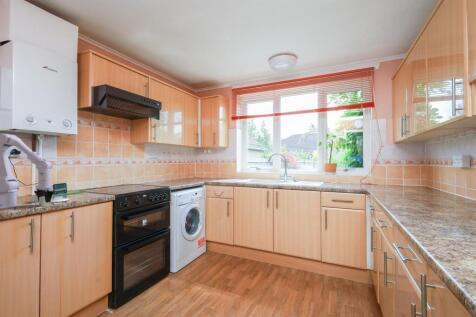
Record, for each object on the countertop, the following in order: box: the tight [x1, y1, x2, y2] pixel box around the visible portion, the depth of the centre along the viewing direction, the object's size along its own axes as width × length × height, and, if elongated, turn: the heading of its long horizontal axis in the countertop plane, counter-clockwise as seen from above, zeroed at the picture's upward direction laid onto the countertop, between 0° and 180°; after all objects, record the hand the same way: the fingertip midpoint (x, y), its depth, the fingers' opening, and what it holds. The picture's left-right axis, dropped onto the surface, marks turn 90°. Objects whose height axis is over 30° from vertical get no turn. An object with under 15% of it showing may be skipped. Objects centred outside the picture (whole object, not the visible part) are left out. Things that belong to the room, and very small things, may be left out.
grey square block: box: [30, 194, 45, 204], centre depth 150 cm, size 6×6×4 cm
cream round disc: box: [49, 197, 70, 204], centre depth 151 cm, size 13×13×1 cm
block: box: [38, 197, 50, 207], centre depth 139 cm, size 4×4×5 cm
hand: (44, 201), depth 140 cm, fingers open, 7 cm apart
